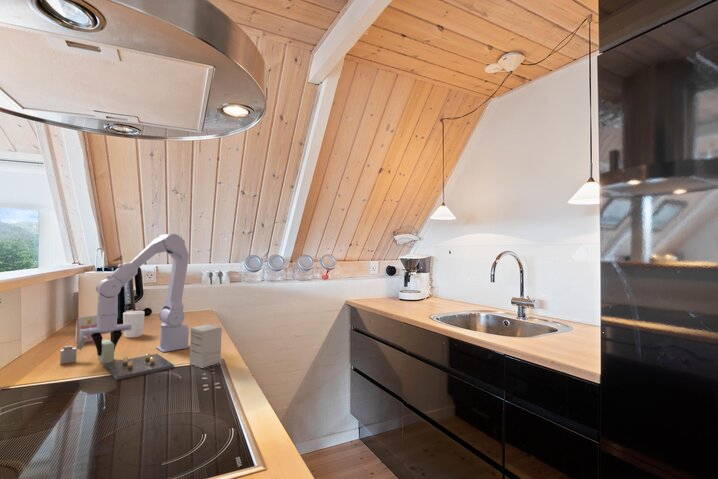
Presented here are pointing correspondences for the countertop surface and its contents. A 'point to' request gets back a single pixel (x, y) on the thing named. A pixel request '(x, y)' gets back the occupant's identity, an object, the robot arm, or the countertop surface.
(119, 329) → the robot arm
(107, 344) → the sage block
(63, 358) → the lighter
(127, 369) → the standoff plate
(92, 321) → the printed carton
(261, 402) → the countertop surface
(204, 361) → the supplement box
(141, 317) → the white cup
